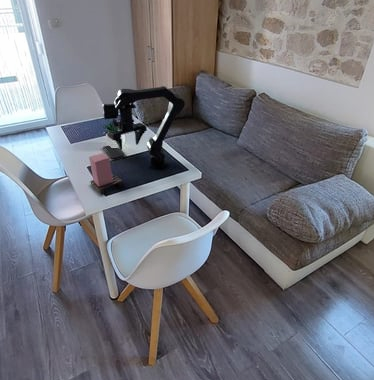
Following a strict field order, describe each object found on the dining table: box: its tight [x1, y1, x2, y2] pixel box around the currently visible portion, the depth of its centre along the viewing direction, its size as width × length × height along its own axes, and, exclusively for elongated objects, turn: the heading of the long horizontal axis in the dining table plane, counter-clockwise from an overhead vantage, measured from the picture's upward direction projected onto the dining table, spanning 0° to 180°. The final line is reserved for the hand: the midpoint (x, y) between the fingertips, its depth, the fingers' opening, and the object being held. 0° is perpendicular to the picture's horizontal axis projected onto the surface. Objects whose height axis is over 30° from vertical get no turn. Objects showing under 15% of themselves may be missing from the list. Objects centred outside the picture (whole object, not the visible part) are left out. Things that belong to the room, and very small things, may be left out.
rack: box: [89, 172, 123, 196], centre depth 147 cm, size 12×10×3 cm
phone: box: [102, 145, 125, 160], centre depth 176 cm, size 8×1×15 cm
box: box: [88, 152, 114, 187], centre depth 142 cm, size 7×6×13 cm
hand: (129, 147), depth 154 cm, fingers open, 9 cm apart
